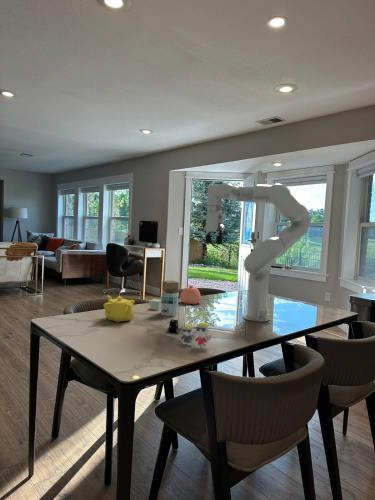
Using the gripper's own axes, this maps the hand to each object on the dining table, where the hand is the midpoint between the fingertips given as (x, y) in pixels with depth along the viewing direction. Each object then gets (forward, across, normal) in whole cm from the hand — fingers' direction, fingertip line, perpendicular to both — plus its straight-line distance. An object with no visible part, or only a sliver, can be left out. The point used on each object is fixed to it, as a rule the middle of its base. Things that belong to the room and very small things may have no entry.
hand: (213, 243), depth 182 cm
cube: (+32, +17, +26) cm, 44 cm away
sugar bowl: (+35, +24, -1) cm, 42 cm away
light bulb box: (+35, +3, +23) cm, 42 cm away
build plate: (+36, -24, +34) cm, 55 cm away
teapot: (+34, 0, +50) cm, 61 cm away
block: (+24, +3, +23) cm, 33 cm away
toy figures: (+36, -44, +36) cm, 67 cm away
